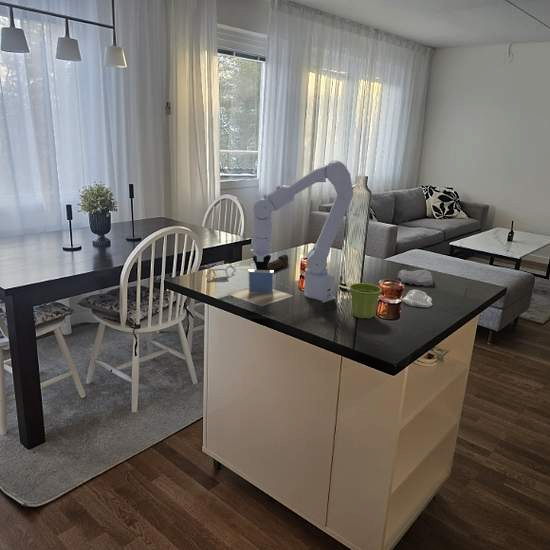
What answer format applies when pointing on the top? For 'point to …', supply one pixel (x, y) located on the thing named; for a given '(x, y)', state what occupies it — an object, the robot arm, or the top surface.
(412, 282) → the stone block
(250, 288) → the tile
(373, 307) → the plant pot
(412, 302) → the white rock
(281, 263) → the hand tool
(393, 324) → the top surface
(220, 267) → the origami figure
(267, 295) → the board
